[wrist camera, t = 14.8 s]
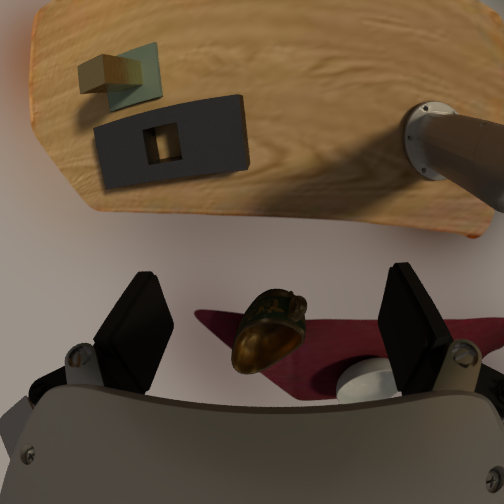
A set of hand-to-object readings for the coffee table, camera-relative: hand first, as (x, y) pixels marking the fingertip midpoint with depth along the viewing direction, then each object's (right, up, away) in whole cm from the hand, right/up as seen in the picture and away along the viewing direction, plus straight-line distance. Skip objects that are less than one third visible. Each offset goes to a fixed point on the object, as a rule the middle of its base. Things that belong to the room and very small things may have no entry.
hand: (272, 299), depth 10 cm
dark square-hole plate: (-12, +18, +26) cm, 34 cm away
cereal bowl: (+28, -27, +49) cm, 62 cm away
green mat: (-19, +28, +21) cm, 39 cm away
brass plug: (-19, +28, +20) cm, 39 cm away
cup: (+3, -10, +41) cm, 42 cm away
